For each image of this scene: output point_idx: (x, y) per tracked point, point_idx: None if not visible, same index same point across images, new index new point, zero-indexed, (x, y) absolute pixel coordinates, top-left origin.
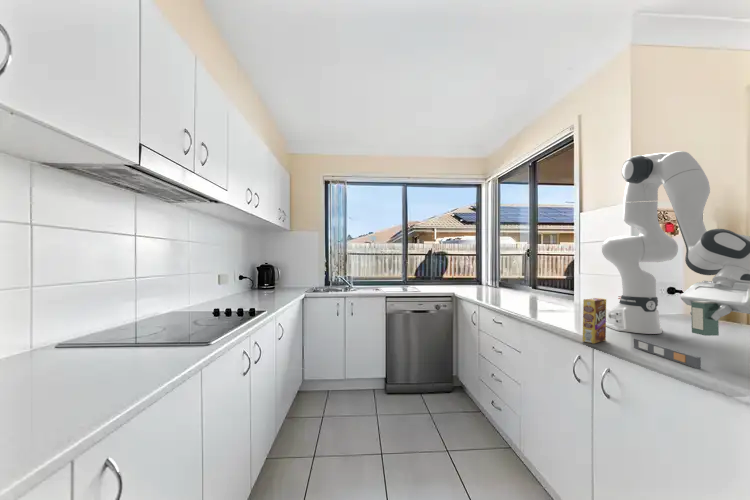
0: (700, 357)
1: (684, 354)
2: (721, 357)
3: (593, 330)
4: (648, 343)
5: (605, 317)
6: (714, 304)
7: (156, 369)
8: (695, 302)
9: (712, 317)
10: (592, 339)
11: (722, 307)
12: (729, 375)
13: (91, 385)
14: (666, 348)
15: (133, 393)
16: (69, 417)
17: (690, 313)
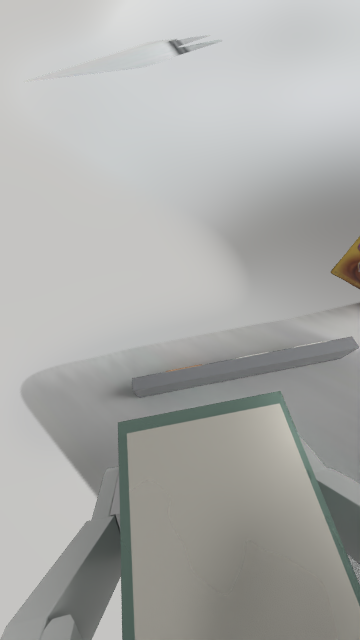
0: (133, 391)
1: (168, 371)
2: None
3: (352, 245)
4: (293, 348)
5: None
6: (126, 609)
7: (130, 64)
8: (235, 406)
9: (114, 468)
10: (337, 263)
11: (28, 632)
12: (84, 429)
13: (105, 63)
14: (228, 360)
15: (93, 71)
16: (68, 72)
17: None
